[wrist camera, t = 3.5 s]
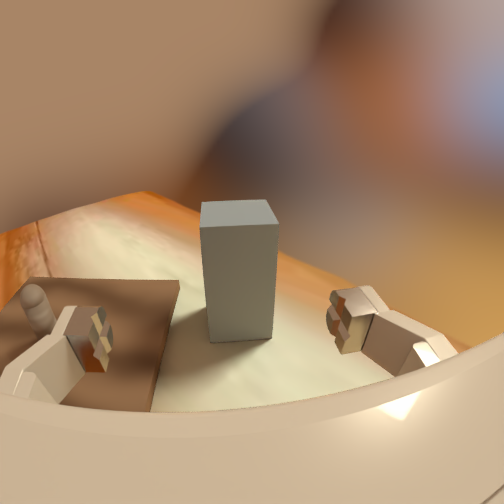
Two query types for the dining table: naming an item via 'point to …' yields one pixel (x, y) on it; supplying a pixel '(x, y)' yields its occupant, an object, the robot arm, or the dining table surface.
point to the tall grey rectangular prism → (239, 268)
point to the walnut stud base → (123, 327)
